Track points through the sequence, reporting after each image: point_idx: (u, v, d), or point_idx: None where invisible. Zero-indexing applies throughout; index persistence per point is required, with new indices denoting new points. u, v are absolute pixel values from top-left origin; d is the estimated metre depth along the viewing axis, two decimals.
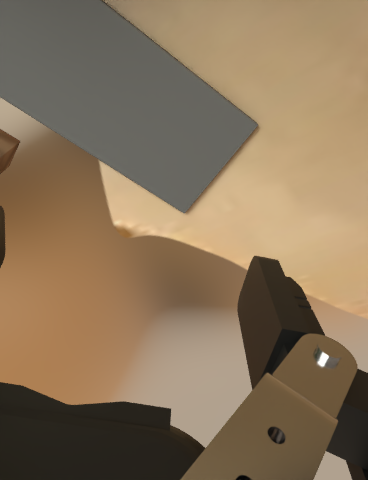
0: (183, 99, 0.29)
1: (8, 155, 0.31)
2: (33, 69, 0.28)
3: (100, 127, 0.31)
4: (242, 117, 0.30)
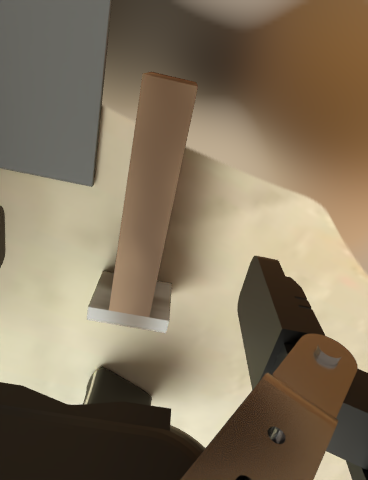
0: None
1: (162, 75, 0.22)
2: (44, 67, 0.23)
3: None
4: None
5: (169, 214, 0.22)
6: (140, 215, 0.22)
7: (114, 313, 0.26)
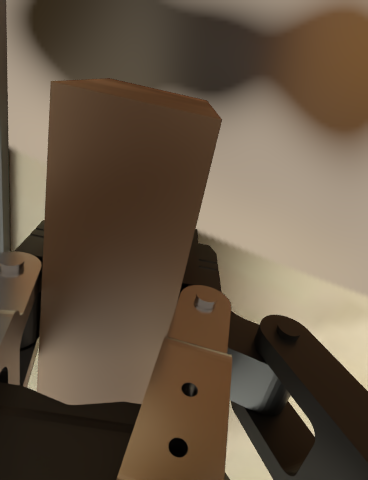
0: None
1: (127, 86, 0.09)
2: None
3: None
4: None
5: None
6: None
7: None
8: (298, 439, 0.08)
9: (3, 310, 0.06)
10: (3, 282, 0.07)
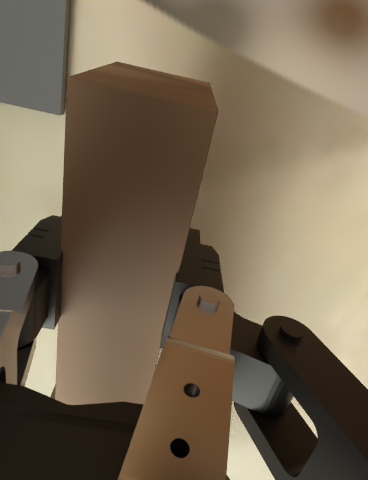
0: None
1: (134, 72, 0.10)
2: None
3: None
4: None
5: (152, 365, 0.11)
6: (92, 365, 0.11)
7: None
8: (301, 440, 0.08)
9: (0, 310, 0.06)
10: (0, 281, 0.07)
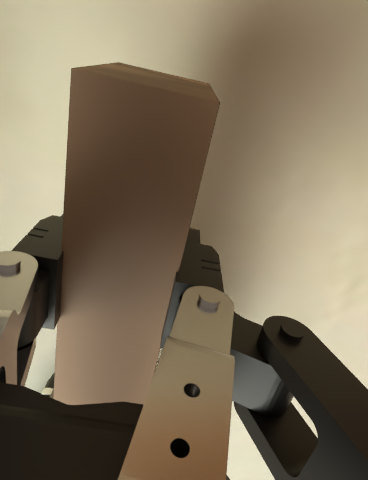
0: None
1: (136, 71, 0.10)
2: None
3: None
4: None
5: (153, 364, 0.11)
6: (92, 364, 0.11)
7: None
8: (301, 440, 0.08)
9: (0, 310, 0.06)
10: (1, 281, 0.07)
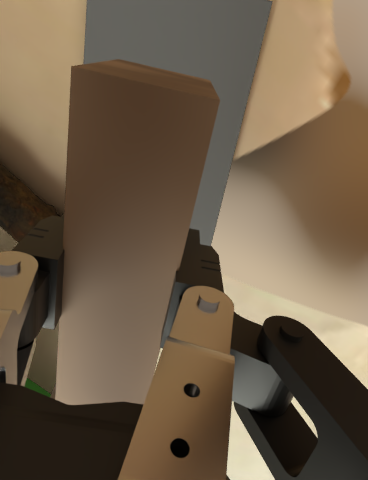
0: None
1: (136, 68, 0.10)
2: None
3: None
4: None
5: (154, 360, 0.11)
6: (93, 361, 0.11)
7: None
8: (301, 440, 0.08)
9: (0, 310, 0.06)
10: (0, 281, 0.07)
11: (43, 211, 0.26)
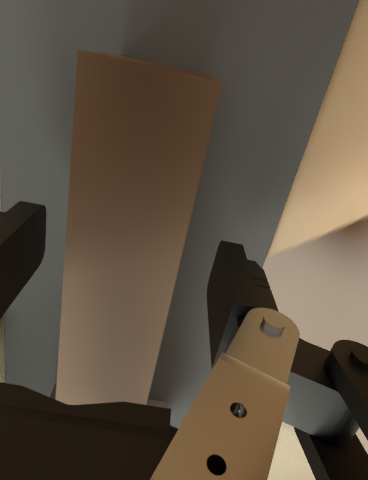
0: (56, 140, 0.13)
1: (139, 60, 0.10)
2: None
3: (195, 274, 0.15)
4: None
5: (156, 351, 0.11)
6: (95, 351, 0.11)
7: None
8: (362, 476, 0.07)
9: None
10: None
11: None
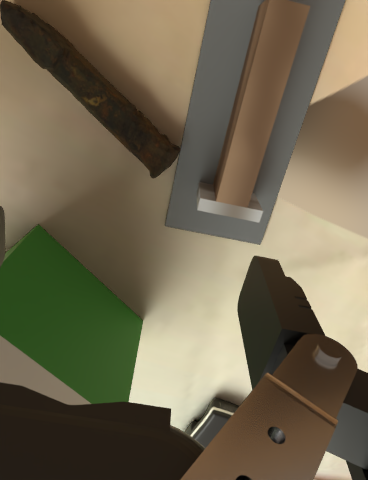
0: (226, 43, 0.31)
1: None
2: None
3: None
4: None
5: (275, 114, 0.29)
6: (252, 115, 0.29)
7: (220, 204, 0.32)
8: None
9: None
10: None
11: (162, 137, 0.33)
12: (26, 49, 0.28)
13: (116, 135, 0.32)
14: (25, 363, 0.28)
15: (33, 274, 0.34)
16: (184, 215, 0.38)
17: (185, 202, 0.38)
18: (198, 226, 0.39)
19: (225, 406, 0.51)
